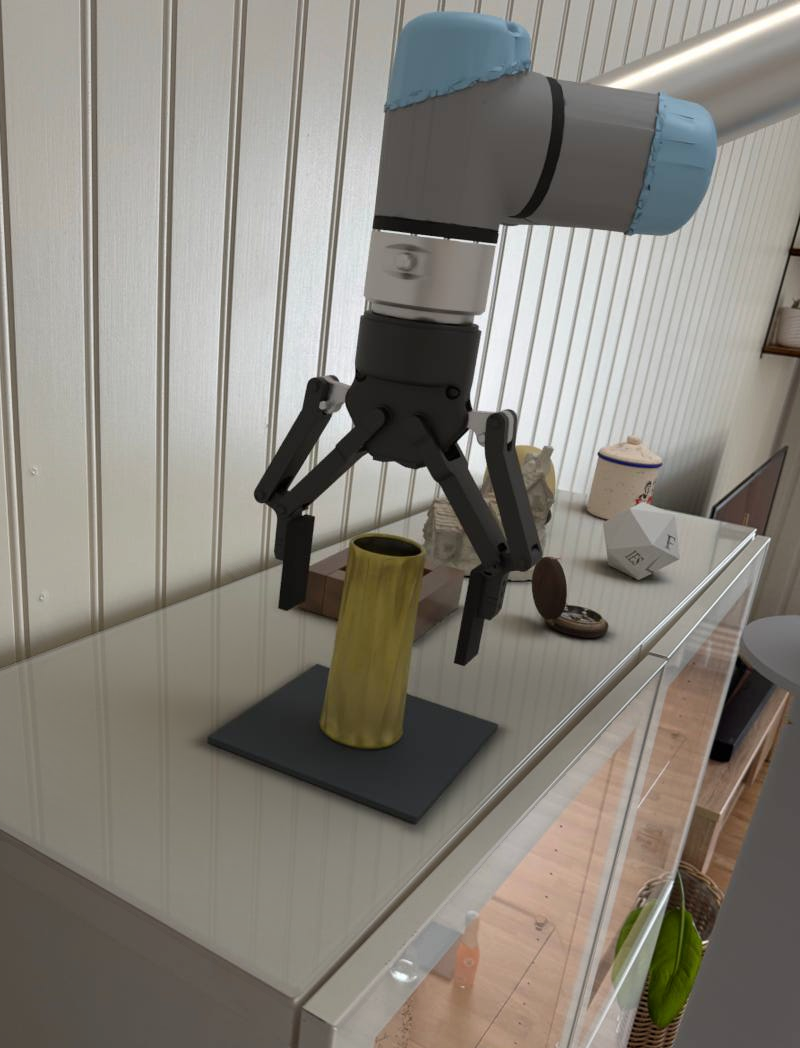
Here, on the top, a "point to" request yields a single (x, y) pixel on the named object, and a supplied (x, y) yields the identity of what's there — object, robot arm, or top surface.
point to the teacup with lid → (623, 478)
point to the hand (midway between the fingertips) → (375, 631)
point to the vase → (373, 641)
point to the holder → (434, 599)
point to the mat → (360, 774)
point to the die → (641, 540)
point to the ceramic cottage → (449, 537)
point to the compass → (562, 602)
